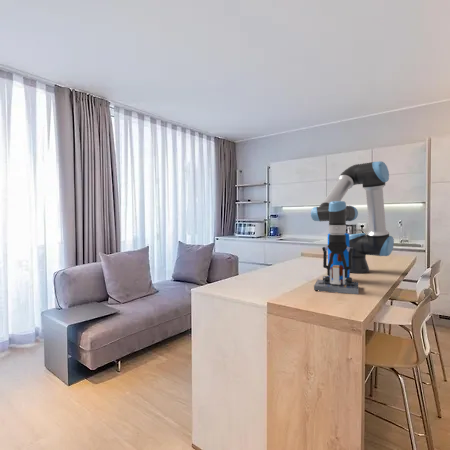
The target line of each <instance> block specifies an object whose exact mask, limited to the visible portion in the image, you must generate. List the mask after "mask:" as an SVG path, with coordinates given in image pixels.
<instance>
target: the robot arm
mask: <svg viewBox="0 0 450 450" xmlns="http://www.w3.org/2000/svg"><path fill="white" fill-rule="evenodd" d="M389 179H390V173H389V169H388V166H387V163H385V162H384V161H381V160H379V161H372V162H365V163H364V162H363V163H358V164H353V165H352V166H349V167H348V168H346V169H345V170H343V171H342V172H341V173H340V174H339V175H338V176H337V179H336V182H335V184H334V185H333V187H332V188H331V190H330V191H329V193H328V194H327V196H326V197H325V198H324V199H323V201H322V202H321V204H320V205H319V206H316V207H315V206H314V207H313V208H311V211H310V217H311V219H312V220H313V221H314V222H328V234H330V235H329V244H328V243H327V245H326V246H323V247H321V248H322V251H323V261H322V262H323V264H322V267H323V268H325V269H326V271H327V272H326V273H327V275H326V276H330V283H331V282H332V269H330V267H331V264H332V260H333V257H334V254H340V255H341V258H342V262H343V265H344V269H345V270H343V284H344V285H345V277H347V271H348V270H349V269H350V272H352V273H351V274H365V273H369V272H370V267H369V264H368V261H367V259H366V257H367V256H378V257H388V256H390V255H391V254H392V252H393V249H394V243H395V242H394V241H395V239H394V237H393V236H392V235H390V231H388V230H387V227H386V226H387V225H386V215H385V202H384V189H383V188H384V187H385V186H386V183H387V182H388V181H389ZM355 185H362V189H364V190H365V197H366V204H367V205H366V206H367V219H368V231H367V232H366V233H365V232H359V233H352V234H350V233H349V247H347V245H346V235H345V233H346V234H347V232H346V231H347V222H352V221H355V220H356V219H357V217H358V215H359V211H358V209H357V208H356V207H355V206H354V205H353V206H352V205H347V202H345V201H343V199H344V197H345V195H346V194H347V193H348V191H349V190H350V189H352V188H353V186H355ZM328 248H329V249H330V251H331V252H332V253H331V256H330V260H329V263H328ZM346 249H347V251H348V252H349V253H348V256H349V266H348V267H347V264H346V261H345V257H344V253H343V252H344V251H345V250H346Z"/></svg>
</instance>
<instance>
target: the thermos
mask: <svg viewBox="0 0 450 450" xmlns="http://www.w3.org/2000/svg"><path fill="white" fill-rule="evenodd" d="M329 235H330V233H328V234H327V245H328V244H329ZM345 235H346V245H347V247H349V235H350V233H347V232H346V233H345ZM331 253H332V252H331V251H330V249H329V248H328V250H327V264H328V263H329V260H330V256H331ZM343 253H344V257H345V261H346V264H347V267H348V266H349V256H348V253H349V252H348V251H347V249H346V250H345V251H344V252H343ZM333 265H337V266H339V281H343V270H345V269H344V265H343V262H342V258H341V255H340V254H334V257H333V260H332V264H331V267H330V269H332V280H333ZM350 274H351V273H350V269H349V270H348V271H347V277H351V276H350Z"/></svg>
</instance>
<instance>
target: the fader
mask: <svg viewBox="0 0 450 450" xmlns="http://www.w3.org/2000/svg"><path fill="white" fill-rule="evenodd" d="M331 284H338V285H341V281H339V266H337V265H333V280H332V282H331Z"/></svg>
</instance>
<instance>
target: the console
mask: <svg viewBox="0 0 450 450" xmlns="http://www.w3.org/2000/svg"><path fill="white" fill-rule="evenodd" d="M314 290H319V291H318V292H321V291H328V292H327V293H335V292H338V294H350V295H351V294H352V295H359V282H358V281H353V277H351V276H350V277H345V285H344V284H343V281H341V285H338V284H331V283H330V276H328V275H323V276H322V279H317V280H316V282H315V283H314V285H313V291H314Z"/></svg>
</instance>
